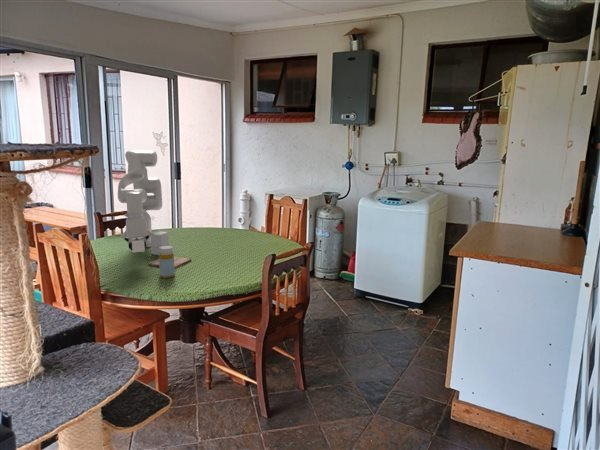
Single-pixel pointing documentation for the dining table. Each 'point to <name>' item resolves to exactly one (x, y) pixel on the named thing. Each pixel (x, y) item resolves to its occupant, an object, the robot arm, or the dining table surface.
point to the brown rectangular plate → (177, 262)
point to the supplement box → (158, 241)
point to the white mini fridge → (138, 244)
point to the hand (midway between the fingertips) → (137, 248)
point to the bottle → (166, 262)
